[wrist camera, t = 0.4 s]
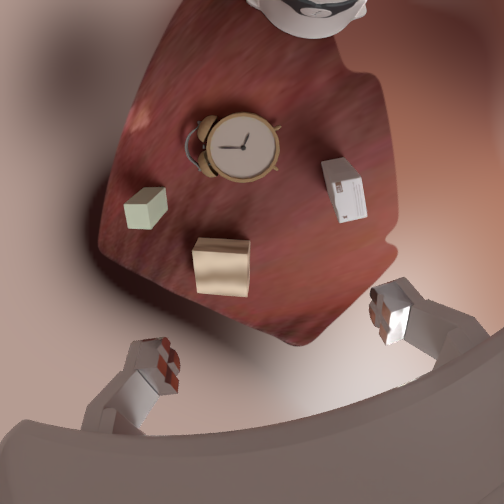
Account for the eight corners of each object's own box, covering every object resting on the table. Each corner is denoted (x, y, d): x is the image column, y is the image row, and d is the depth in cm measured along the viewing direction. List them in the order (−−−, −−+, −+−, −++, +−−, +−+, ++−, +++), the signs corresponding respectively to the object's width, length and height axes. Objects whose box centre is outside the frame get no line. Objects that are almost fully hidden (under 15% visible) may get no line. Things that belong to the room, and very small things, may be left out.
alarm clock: (279, 184, 43) (184, 185, 41) (274, 175, 47) (188, 176, 45) (284, 114, 37) (181, 114, 35) (277, 112, 41) (186, 112, 39)
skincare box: (350, 188, 44) (370, 218, 34) (326, 193, 45) (339, 225, 35) (343, 154, 41) (364, 175, 31) (318, 160, 42) (330, 183, 32)
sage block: (143, 187, 48) (123, 204, 41) (165, 187, 47) (147, 204, 41) (146, 209, 50) (128, 228, 43) (167, 209, 50) (151, 229, 43)
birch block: (199, 236, 53) (192, 250, 49) (250, 239, 52) (247, 254, 48) (203, 277, 58) (197, 292, 54) (249, 281, 58) (247, 297, 53)
